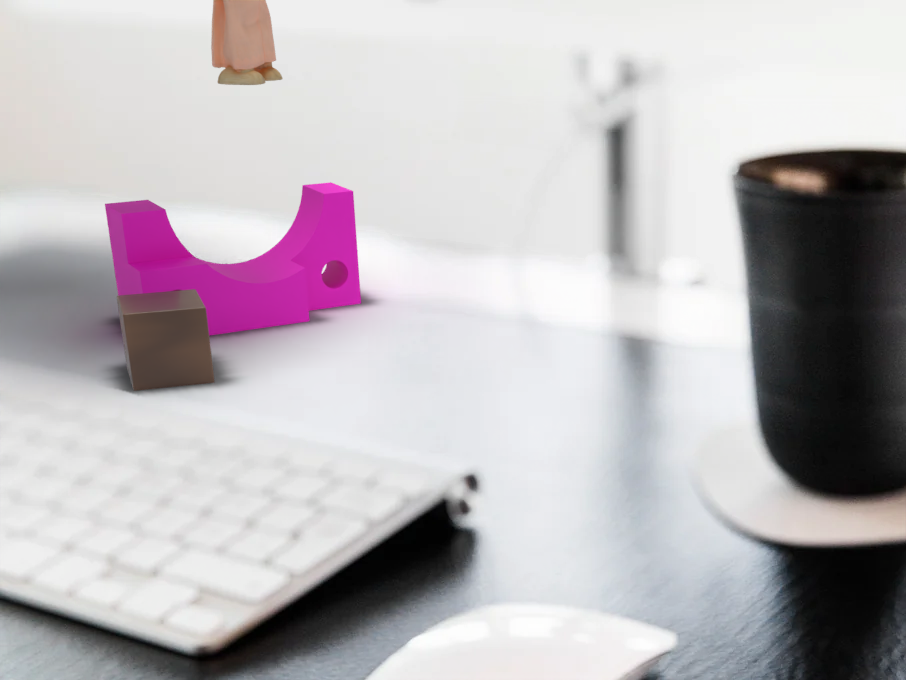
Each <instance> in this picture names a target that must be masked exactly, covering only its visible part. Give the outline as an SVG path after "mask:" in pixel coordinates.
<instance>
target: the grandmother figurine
mask: <svg viewBox="0 0 906 680" xmlns="http://www.w3.org/2000/svg"><path fill="white" fill-rule="evenodd" d="M211 15H212V16H211V45H210V49H211V64H212V65H211V66H212V67H213V68H215V69H220V68H224V69H223V70H222V71H221V72H220V73H219V75H218V77H217V84H219V85H224V86H225V85H226V86H228V85H229V86H260V85H265V84H266V82H275V81H281V80H283V76H282V74H281V72H280V71H279V70H278V69H276V68H275V67H274V66H273V62H276V61H277V55H276V48H275V47H276V46H275V41H274V35H273V34H274V33H273V24H272V18H271V13H270V10H269V6H268V3H267V0H212V14H211Z"/></svg>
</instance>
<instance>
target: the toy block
mask: <svg viewBox="0 0 906 680" xmlns="http://www.w3.org/2000/svg"><path fill="white" fill-rule="evenodd" d="M301 188H302V189H301V197H300V202H299V207H298V210H297V213H296V215H295V218H294V219H293V222H292V224H291V226H290V227H289V229H288V230H287V232H286V233H285V234H284V236H282V237H281V239H280V240H279V241H278V242H277V243H276V244H275V245H273V247H271V248H270V249H269V250H267V251H265V252H264V253H263V254H261V255H258V256H256V257H254V258H251V259H248V260H245V261H241V262H234V263H217V262H211V261H206V260H205V259H201V258H198V257H196V256H195V255H193V254H192V253H191V252H190V251H189V250H188V248H187V247H186V246H184V244H183V242H181V240H180V239H179V237H178V236H177V234H176V232H175V231H174V229H173V226H172V223H171V222H170V219H169V217H168V214H167V210H166V209H165V208H163V207H162V206H160V205H158V204H156V203H155V202H153V201H151V200H149V199H141V200H130V201H119V202H109V203H104V206H105V207H104V208H105V214H106V221H107V230H108V235H109V242H110V249H111V256H112V263H113V269H114V276H115V281H116V282H115V283H116V291H117V296H118V295H131V294H143V293H155V292H167V291H180V290H192V289H195V290H196V291H197V293H198V295H199V297H200V298H201V300H202V302H203V304H204V306H205V307H206V313H207V321H208V329H209V337H210V336H217V335H223V334H231V333H238V332H244V331H252V330H259V329H265V328H273V327H279V326H287V325H294V324H300V323H308V322H310V312H311V311H317V310H323V309H325V310H326V309H331V308H340V307H345V306H346V307H347V306H353V305H360V304H361V305H362V297H361V283H360V281H361V280H360V268H359V254H358V241H357V239H358V238H357V225H356V212H355V196H354V190H352V189H349V188H347V187H345V186H341V185H339V184H336V183H333V182H331V181H330V182H321V183H309V184H302V187H301ZM325 266H326V267H325ZM324 268H325V269H324ZM323 269H324V270H323Z"/></svg>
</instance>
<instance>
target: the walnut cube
mask: <svg viewBox="0 0 906 680" xmlns="http://www.w3.org/2000/svg"><path fill="white" fill-rule="evenodd" d="M116 303H117V309H118V318H119V324H120V331H121V336H122V343H123V344H122V345H123V351H124V357H125V365H126V370H127V373H128V374H127V375H128V377H129V380H130V384H131V386H132V390H133V392H137V391H138V392H139V391H146V390H147V391H148V390H157V389H166V388H176V387H185V386H195V385H196V386H197V385H206V384H215V383H216V380H215V372H214V364H213V355H212V348H211V346H212V345H211V338H210V336H209V329H208V321H207V313H206V307H205V306H204V304H203V302H202V300H201V298H200V297H199V295H198V293H197V291H196V290H195V289H192V290H180V291H167V292H155V293H143V294H131V295H118V294H117V296H116Z"/></svg>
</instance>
